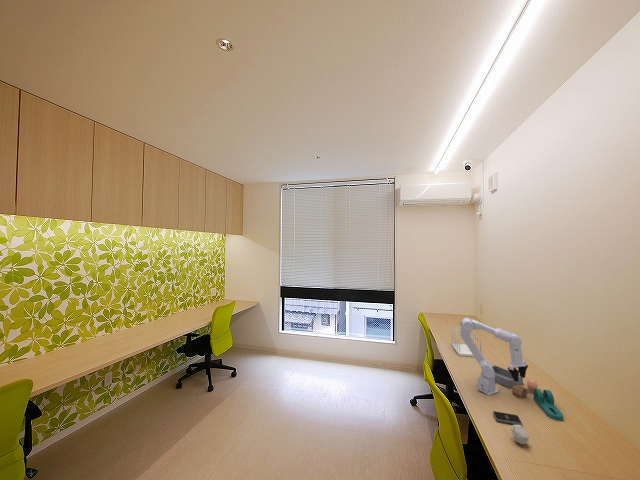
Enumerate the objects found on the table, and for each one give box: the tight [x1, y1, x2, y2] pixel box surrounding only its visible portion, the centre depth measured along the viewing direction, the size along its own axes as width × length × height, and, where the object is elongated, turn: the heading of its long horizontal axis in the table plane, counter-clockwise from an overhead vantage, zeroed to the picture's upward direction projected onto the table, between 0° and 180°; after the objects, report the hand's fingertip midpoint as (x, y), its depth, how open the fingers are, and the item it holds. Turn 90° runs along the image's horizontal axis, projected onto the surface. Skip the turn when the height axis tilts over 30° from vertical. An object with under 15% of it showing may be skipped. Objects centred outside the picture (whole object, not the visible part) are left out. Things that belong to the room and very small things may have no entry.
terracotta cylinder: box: [526, 377, 539, 395], centre depth 158 cm, size 5×5×7 cm
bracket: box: [533, 388, 564, 422], centre depth 141 cm, size 18×7×8 cm, turn 161°
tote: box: [492, 364, 524, 390], centre depth 173 cm, size 14×18×5 cm
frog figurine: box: [510, 425, 529, 445], centre depth 118 cm, size 6×7×7 cm
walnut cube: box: [511, 385, 528, 400], centre depth 155 cm, size 5×5×5 cm
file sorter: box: [450, 327, 482, 358], centre depth 223 cm, size 25×17×16 cm
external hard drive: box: [492, 410, 523, 427], centre depth 134 cm, size 7×11×2 cm, turn 69°
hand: (519, 379), depth 155 cm, fingers open, 7 cm apart
